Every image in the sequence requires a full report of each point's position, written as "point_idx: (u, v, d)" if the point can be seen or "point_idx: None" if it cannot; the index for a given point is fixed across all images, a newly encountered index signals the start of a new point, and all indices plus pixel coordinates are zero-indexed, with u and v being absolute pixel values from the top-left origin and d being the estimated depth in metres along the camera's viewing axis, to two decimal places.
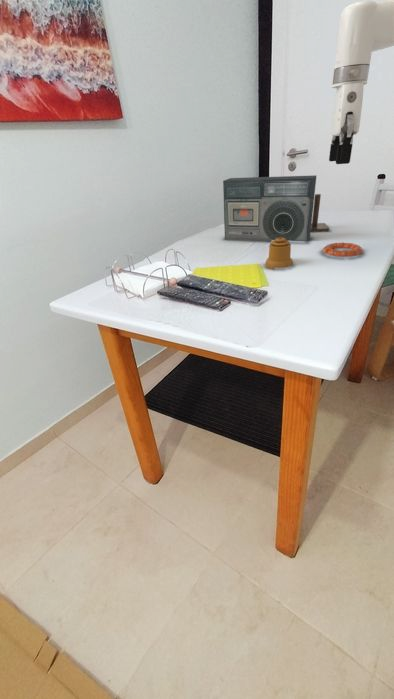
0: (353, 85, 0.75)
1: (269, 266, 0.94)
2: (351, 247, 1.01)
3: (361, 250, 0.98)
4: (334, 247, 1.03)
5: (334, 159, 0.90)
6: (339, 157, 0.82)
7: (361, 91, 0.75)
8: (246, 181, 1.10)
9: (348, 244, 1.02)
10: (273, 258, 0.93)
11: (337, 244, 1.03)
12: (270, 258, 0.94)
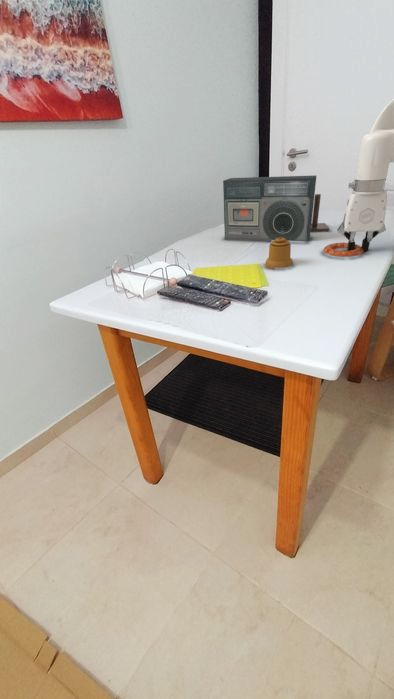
0: (350, 194, 0.92)
1: (269, 266, 0.94)
2: None
3: (362, 250, 0.97)
4: (335, 247, 1.03)
5: None
6: None
7: (351, 200, 0.91)
8: (246, 181, 1.10)
9: None
10: (273, 258, 0.93)
11: (338, 244, 1.03)
12: (270, 258, 0.94)
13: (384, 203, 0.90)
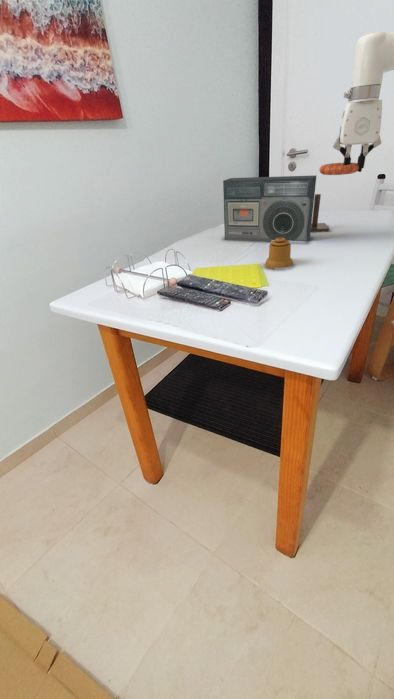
0: (346, 104, 0.92)
1: (269, 266, 0.94)
2: None
3: (358, 165, 0.98)
4: None
5: None
6: None
7: (346, 110, 0.92)
8: (246, 181, 1.10)
9: None
10: (273, 258, 0.93)
11: (333, 164, 1.03)
12: (270, 258, 0.94)
13: (379, 111, 0.90)
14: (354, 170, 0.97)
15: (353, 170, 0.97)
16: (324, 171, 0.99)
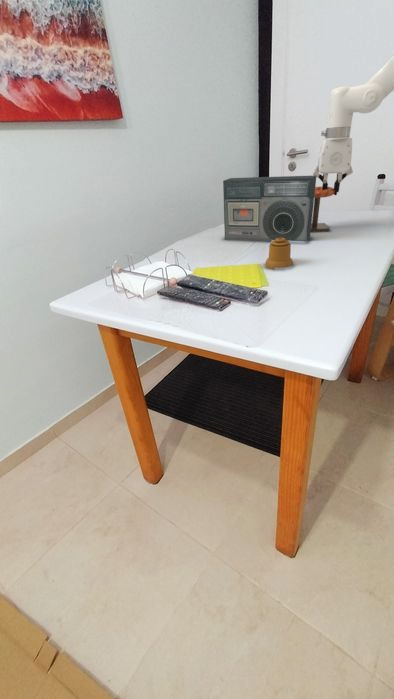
0: (323, 141, 1.12)
1: (269, 266, 0.94)
2: (326, 189, 1.21)
3: (333, 190, 1.17)
4: None
5: None
6: None
7: (323, 145, 1.11)
8: (246, 181, 1.10)
9: None
10: (273, 258, 0.93)
11: None
12: (270, 258, 0.94)
13: (350, 147, 1.10)
14: (330, 194, 1.17)
15: (329, 194, 1.16)
16: None
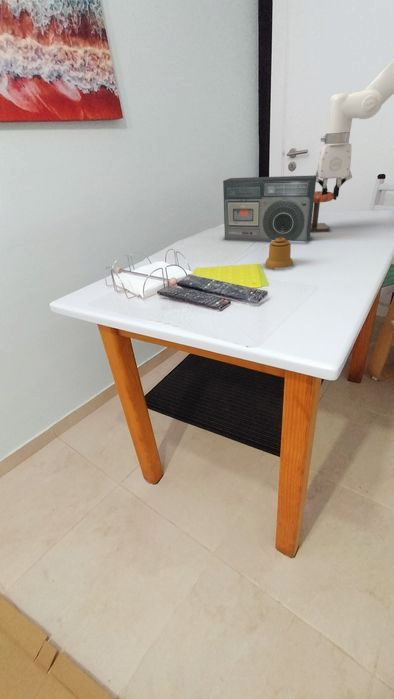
0: (322, 146, 1.13)
1: (269, 266, 0.94)
2: None
3: (333, 195, 1.18)
4: None
5: None
6: None
7: (322, 151, 1.12)
8: (246, 181, 1.10)
9: None
10: (273, 258, 0.93)
11: None
12: (270, 258, 0.94)
13: (349, 153, 1.11)
14: (329, 199, 1.17)
15: (329, 199, 1.17)
16: None
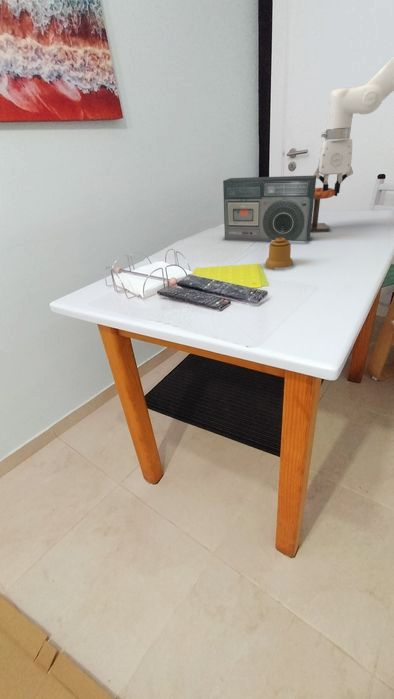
0: (323, 142, 1.12)
1: (269, 266, 0.94)
2: None
3: (334, 191, 1.18)
4: None
5: None
6: None
7: (323, 147, 1.11)
8: (246, 181, 1.10)
9: None
10: (273, 258, 0.93)
11: (315, 188, 1.23)
12: (270, 258, 0.94)
13: (350, 148, 1.10)
14: (330, 195, 1.17)
15: (330, 195, 1.17)
16: None
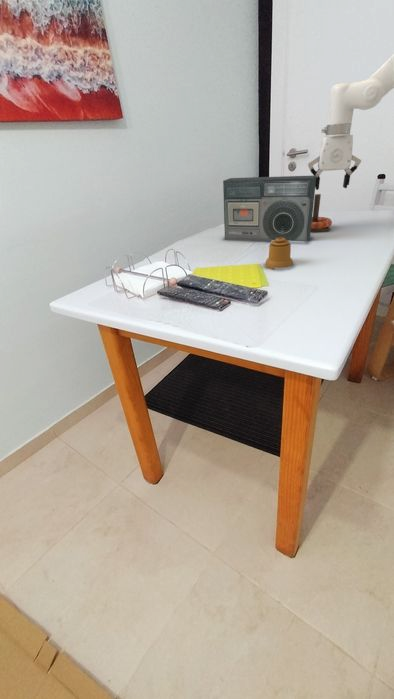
0: (323, 137, 1.12)
1: (269, 266, 0.94)
2: (323, 220, 1.26)
3: (330, 221, 1.23)
4: None
5: (343, 186, 1.19)
6: None
7: (323, 142, 1.11)
8: (246, 181, 1.10)
9: (321, 218, 1.27)
10: (273, 258, 0.93)
11: (312, 217, 1.28)
12: (270, 258, 0.94)
13: (350, 144, 1.09)
14: (327, 225, 1.22)
15: (327, 225, 1.22)
16: None
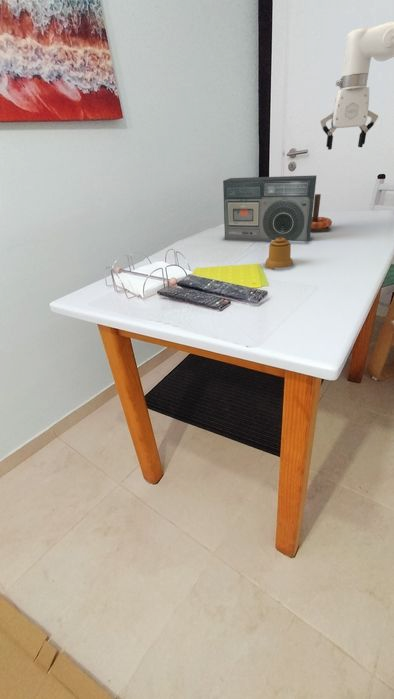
0: None
1: (269, 266, 0.94)
2: (323, 220, 1.26)
3: (330, 221, 1.23)
4: None
5: (358, 145, 1.12)
6: None
7: (338, 96, 1.04)
8: (246, 181, 1.10)
9: (321, 218, 1.27)
10: (273, 258, 0.93)
11: (312, 217, 1.28)
12: (270, 258, 0.94)
13: (367, 97, 1.03)
14: (327, 225, 1.22)
15: (327, 225, 1.22)
16: None
